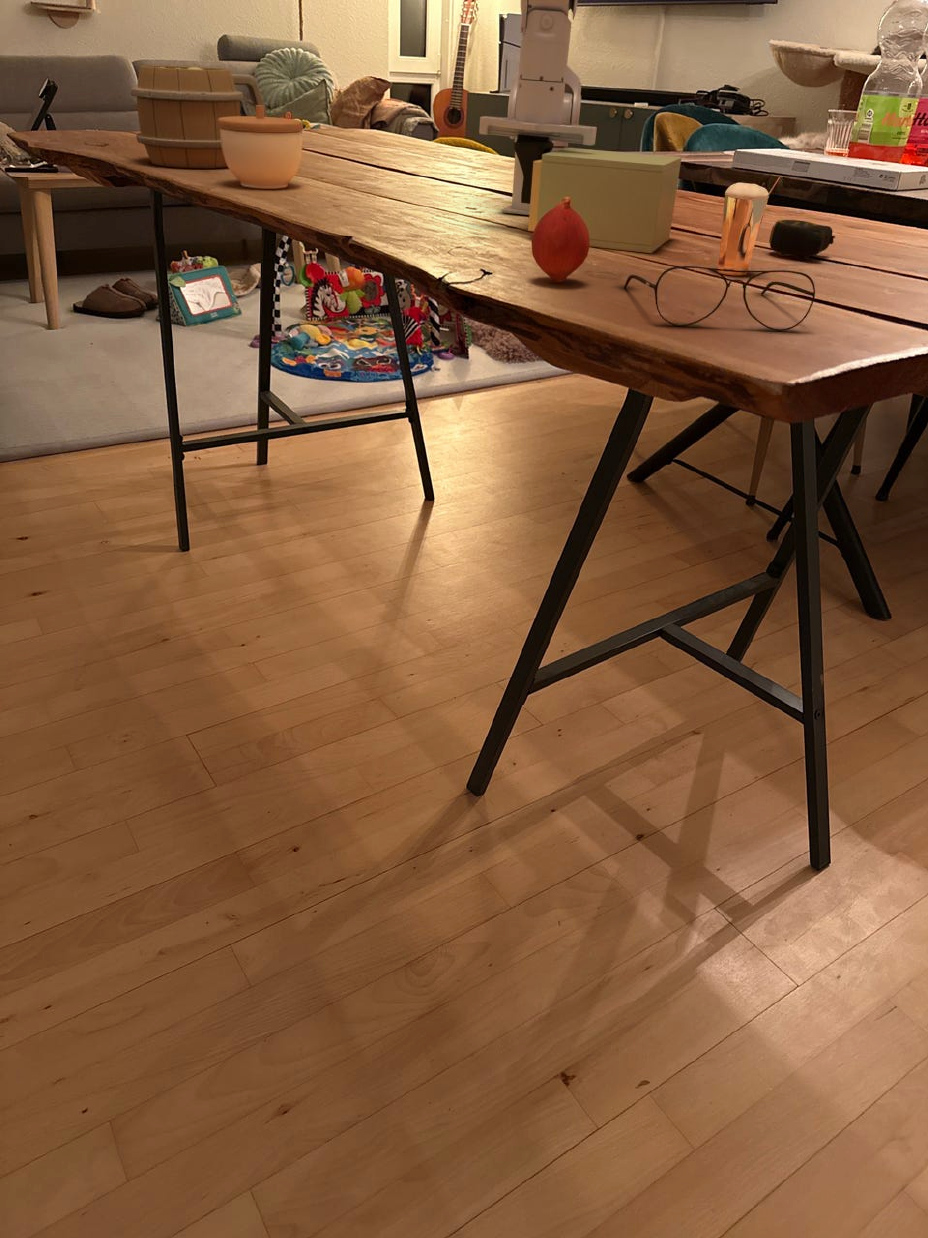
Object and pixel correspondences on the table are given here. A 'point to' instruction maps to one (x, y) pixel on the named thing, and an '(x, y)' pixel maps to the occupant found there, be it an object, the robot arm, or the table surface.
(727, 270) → the glasses
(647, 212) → the cabinet
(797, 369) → the table surface
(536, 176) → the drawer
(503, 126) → the robot arm
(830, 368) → the table surface
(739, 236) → the milkshake
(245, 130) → the lidded bowl
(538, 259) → the onion
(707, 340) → the table surface
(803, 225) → the tape measure
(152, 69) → the mug
